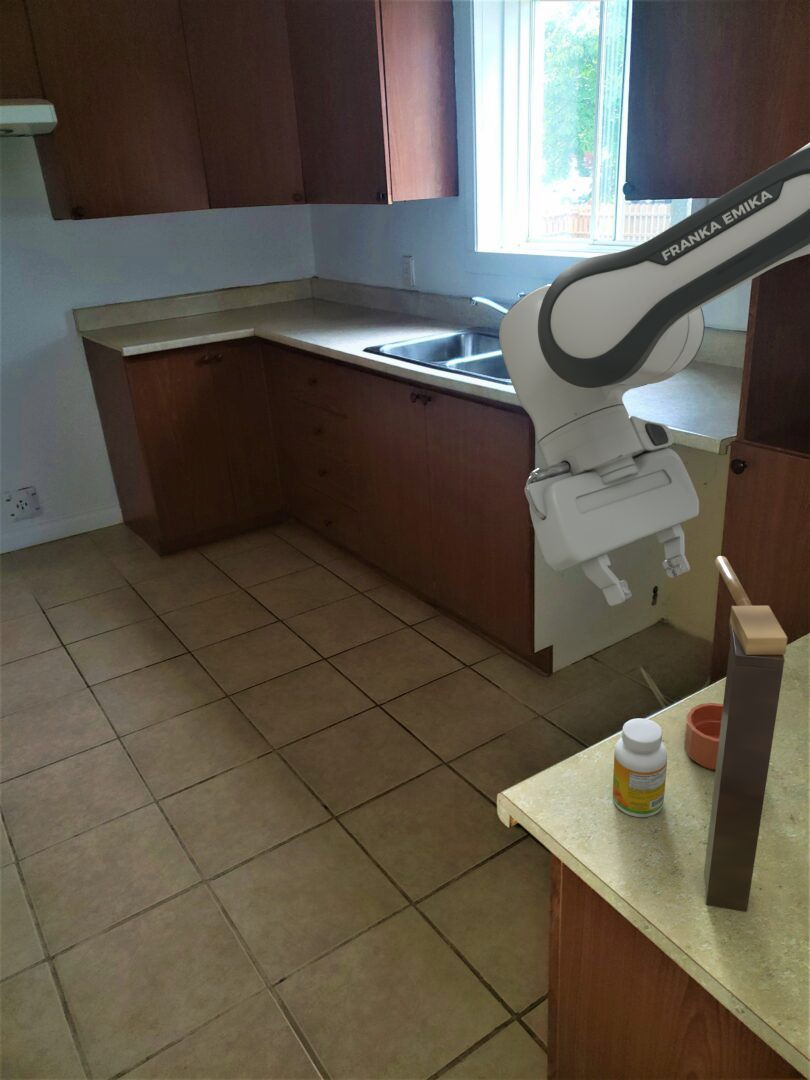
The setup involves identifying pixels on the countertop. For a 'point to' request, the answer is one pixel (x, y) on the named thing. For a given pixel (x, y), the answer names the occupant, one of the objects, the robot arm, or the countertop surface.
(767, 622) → the tan wooden mallet
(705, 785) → the countertop surface
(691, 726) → the bowl
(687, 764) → the countertop surface
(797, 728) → the countertop surface
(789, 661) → the countertop surface
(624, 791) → the supplement bottle
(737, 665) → the tall brown pillar
